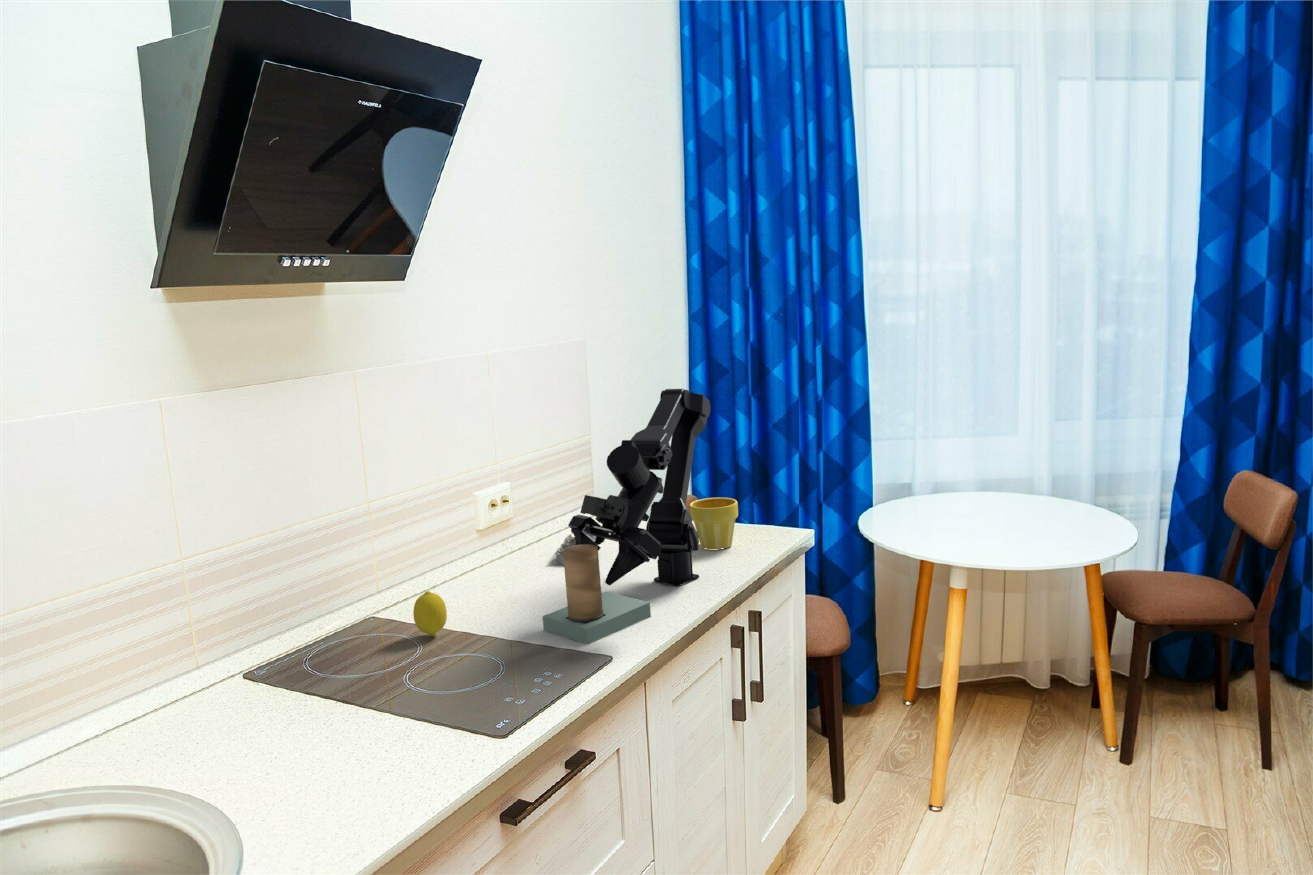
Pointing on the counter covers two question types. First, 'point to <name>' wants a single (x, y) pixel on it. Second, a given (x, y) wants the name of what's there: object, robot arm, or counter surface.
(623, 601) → the board
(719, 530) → the plant pot
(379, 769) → the counter surface
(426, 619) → the lemon
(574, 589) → the peg
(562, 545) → the egg carton
